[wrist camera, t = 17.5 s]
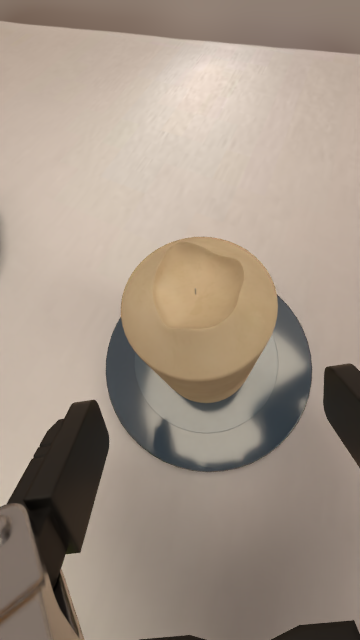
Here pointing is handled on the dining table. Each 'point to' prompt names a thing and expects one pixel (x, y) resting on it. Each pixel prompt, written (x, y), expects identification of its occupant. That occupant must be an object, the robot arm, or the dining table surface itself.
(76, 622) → the robot arm
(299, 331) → the saucer
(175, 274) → the candle
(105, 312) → the dining table surface
